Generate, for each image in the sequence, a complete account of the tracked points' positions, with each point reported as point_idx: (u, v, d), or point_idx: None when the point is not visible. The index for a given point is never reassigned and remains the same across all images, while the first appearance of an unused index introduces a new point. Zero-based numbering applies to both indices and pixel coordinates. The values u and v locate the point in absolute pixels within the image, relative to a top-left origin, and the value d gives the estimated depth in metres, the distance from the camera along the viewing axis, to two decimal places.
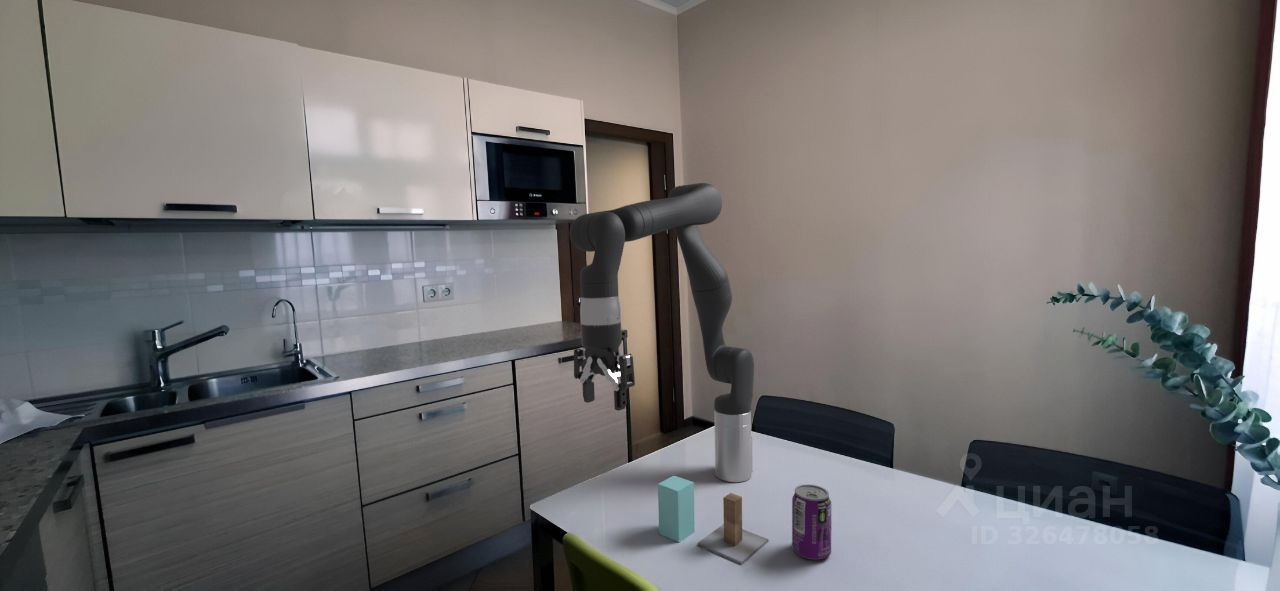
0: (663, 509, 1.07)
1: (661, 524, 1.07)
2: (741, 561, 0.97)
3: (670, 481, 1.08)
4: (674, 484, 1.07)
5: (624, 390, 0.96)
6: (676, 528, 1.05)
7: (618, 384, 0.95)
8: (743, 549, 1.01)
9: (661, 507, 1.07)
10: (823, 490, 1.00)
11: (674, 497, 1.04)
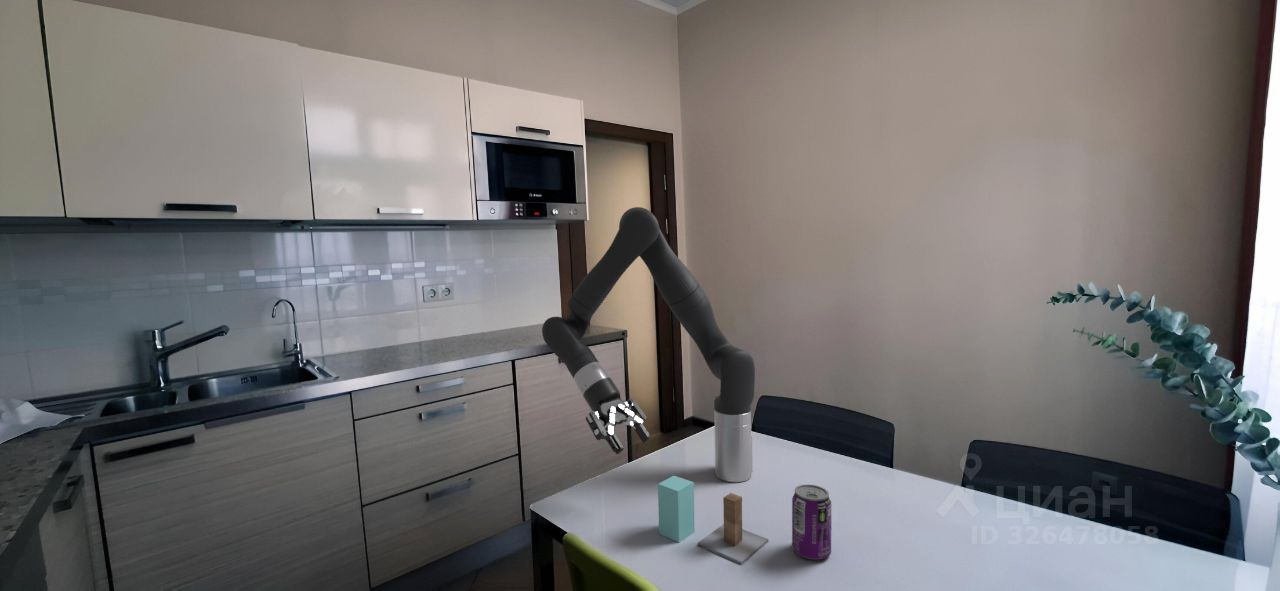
0: (663, 509, 1.07)
1: (661, 524, 1.07)
2: (741, 561, 0.97)
3: (670, 481, 1.08)
4: (674, 484, 1.07)
5: (608, 438, 1.12)
6: (676, 528, 1.05)
7: None
8: (743, 549, 1.01)
9: (661, 507, 1.07)
10: (823, 490, 1.00)
11: (674, 497, 1.04)
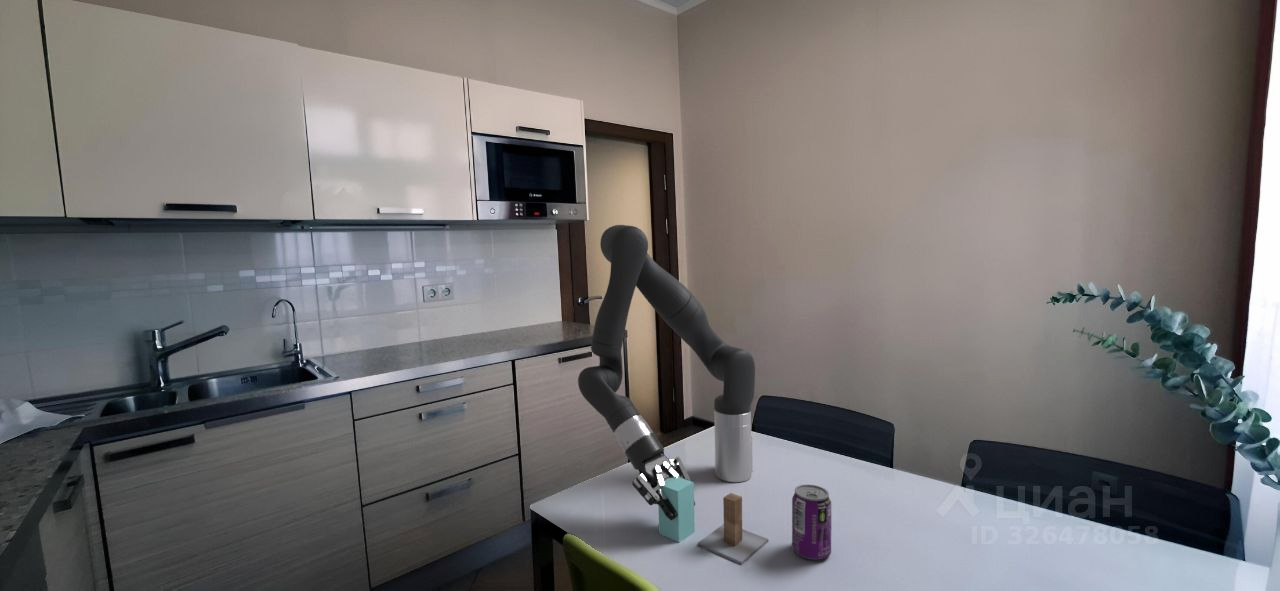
0: None
1: (661, 524, 1.07)
2: (741, 561, 0.97)
3: (670, 481, 1.08)
4: (674, 484, 1.07)
5: (661, 503, 1.05)
6: (676, 528, 1.05)
7: None
8: (743, 549, 1.01)
9: None
10: (823, 490, 1.00)
11: (674, 497, 1.04)
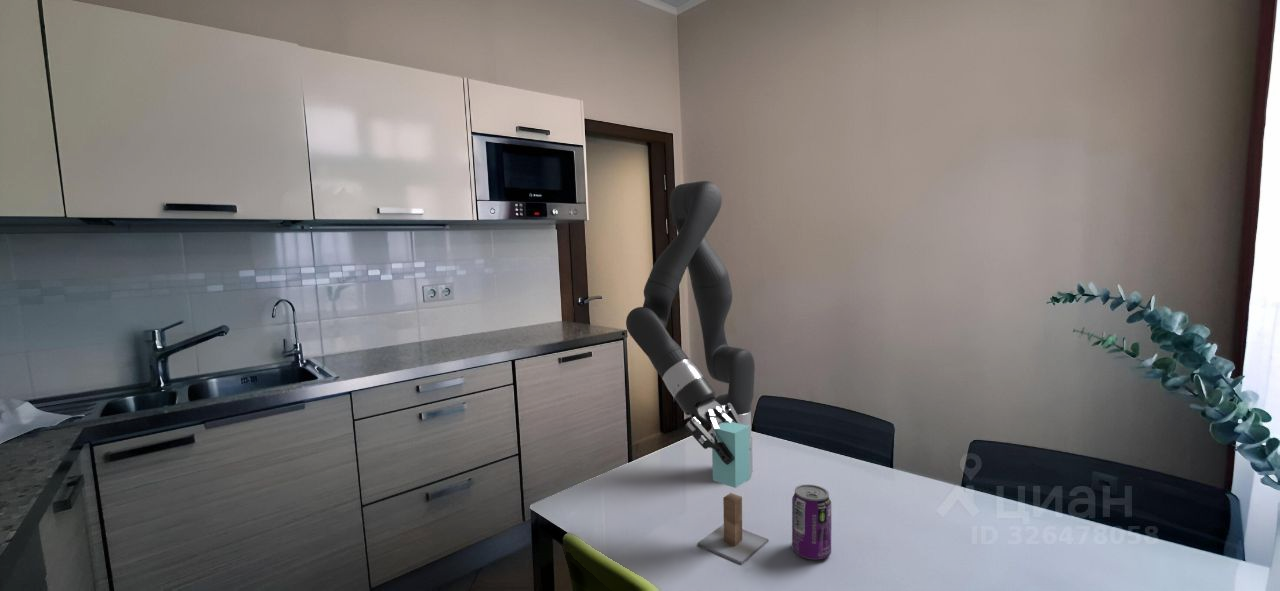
0: None
1: (715, 470, 1.02)
2: (741, 561, 0.97)
3: (724, 425, 1.03)
4: (729, 427, 1.01)
5: (716, 446, 1.00)
6: (732, 473, 0.99)
7: None
8: (743, 549, 1.01)
9: (715, 452, 1.02)
10: (823, 490, 1.00)
11: (730, 440, 0.99)
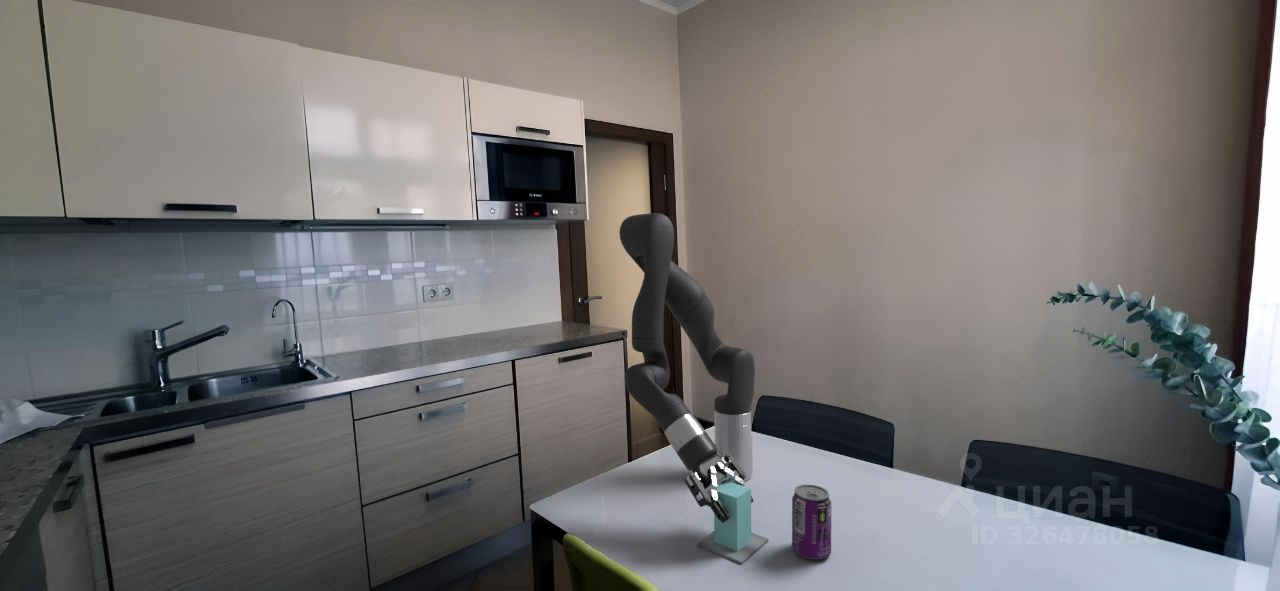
0: None
1: (717, 532, 1.03)
2: (741, 561, 0.97)
3: (725, 487, 1.04)
4: (731, 490, 1.02)
5: (712, 504, 1.00)
6: (734, 536, 1.00)
7: None
8: (743, 549, 1.01)
9: None
10: (823, 490, 1.00)
11: (732, 504, 1.00)
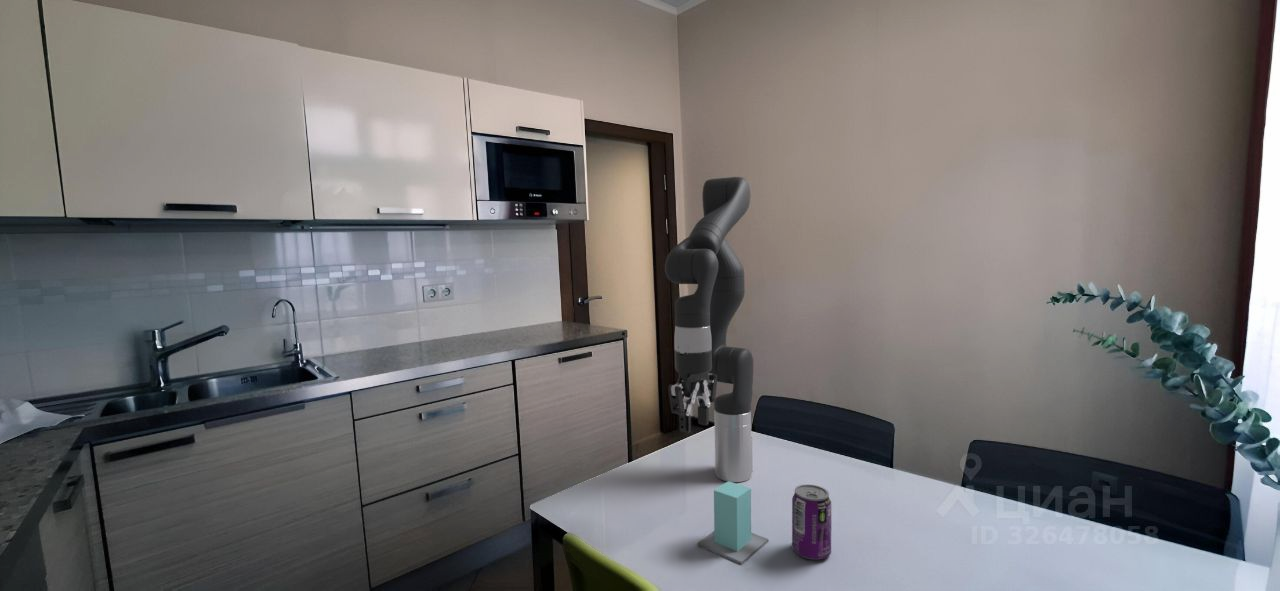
0: (719, 516, 1.02)
1: (717, 532, 1.03)
2: (741, 561, 0.97)
3: (725, 487, 1.04)
4: (731, 490, 1.02)
5: None
6: (734, 536, 1.00)
7: None
8: (743, 549, 1.01)
9: (717, 514, 1.02)
10: (823, 490, 1.00)
11: (732, 504, 1.00)
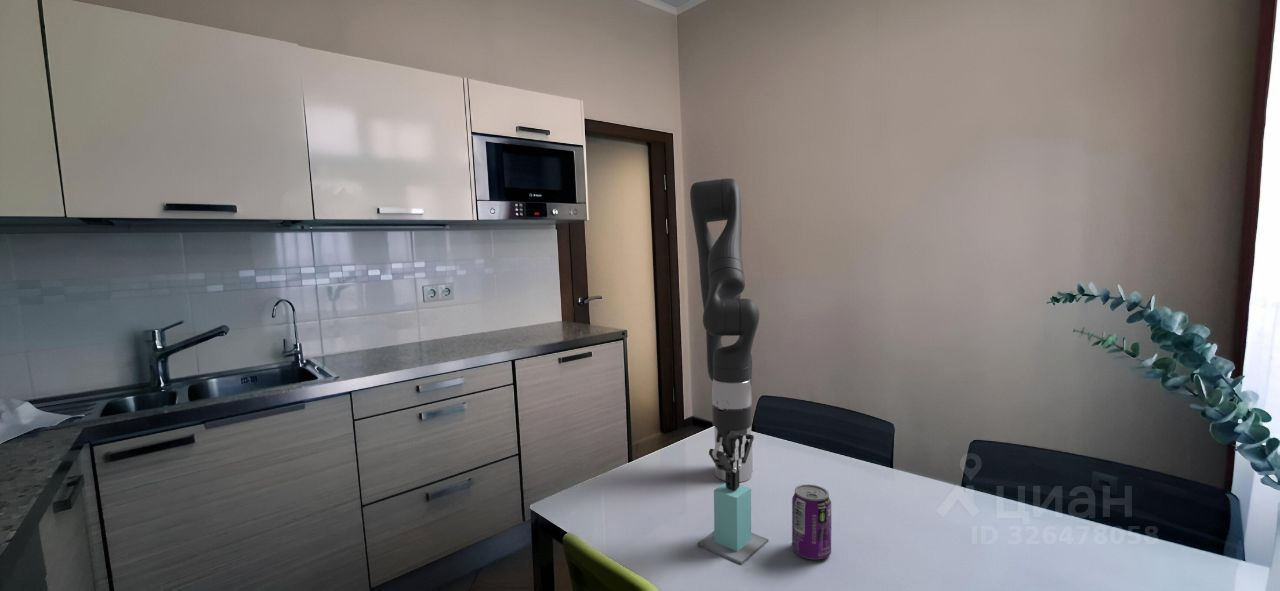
0: (719, 516, 1.02)
1: (717, 532, 1.03)
2: (741, 561, 0.97)
3: (725, 487, 1.04)
4: (731, 490, 1.02)
5: None
6: (734, 536, 1.00)
7: None
8: (743, 549, 1.01)
9: (717, 514, 1.02)
10: (823, 490, 1.00)
11: (732, 504, 1.00)
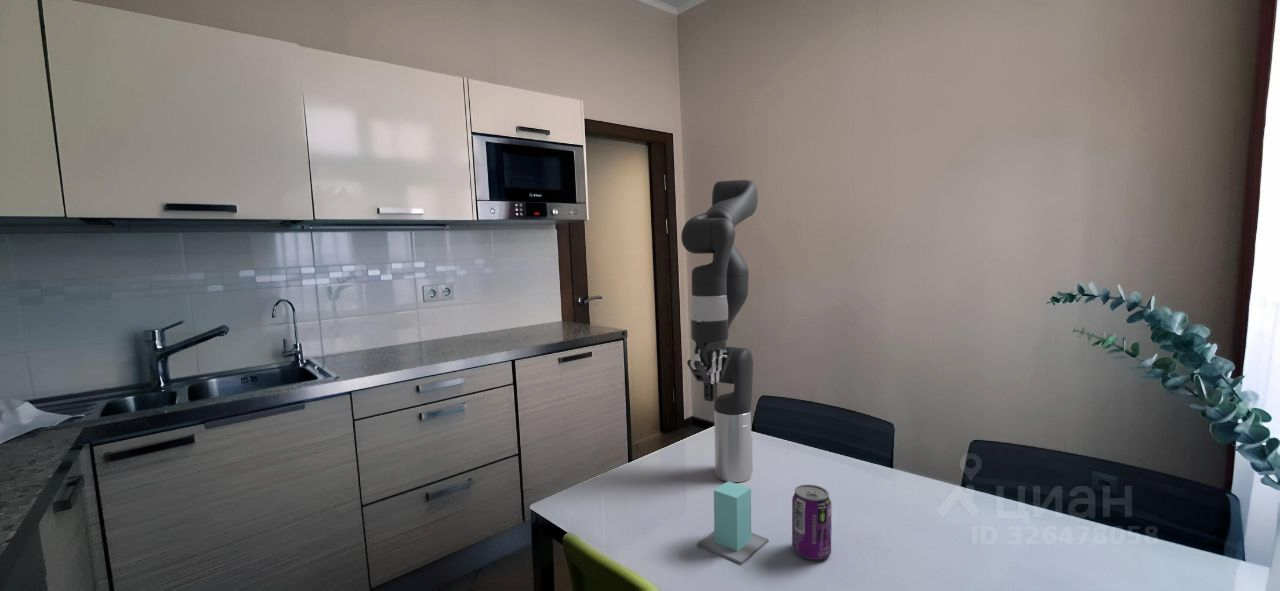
0: (719, 516, 1.02)
1: (717, 532, 1.03)
2: (741, 561, 0.97)
3: (725, 487, 1.04)
4: (731, 490, 1.02)
5: None
6: (734, 536, 1.00)
7: None
8: (743, 549, 1.01)
9: (717, 514, 1.02)
10: (823, 490, 1.00)
11: (732, 504, 1.00)
